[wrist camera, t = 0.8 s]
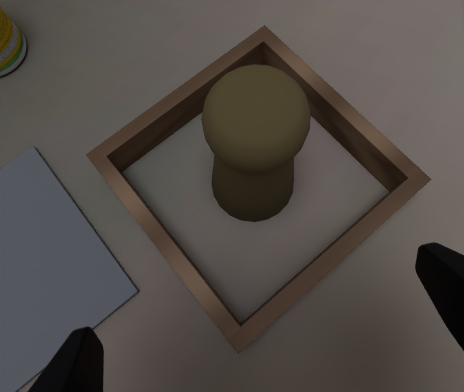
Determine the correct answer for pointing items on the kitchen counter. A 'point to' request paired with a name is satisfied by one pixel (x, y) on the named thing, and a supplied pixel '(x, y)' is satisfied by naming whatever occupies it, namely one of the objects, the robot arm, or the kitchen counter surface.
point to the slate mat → (48, 270)
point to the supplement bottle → (10, 44)
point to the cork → (255, 139)
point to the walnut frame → (321, 108)
